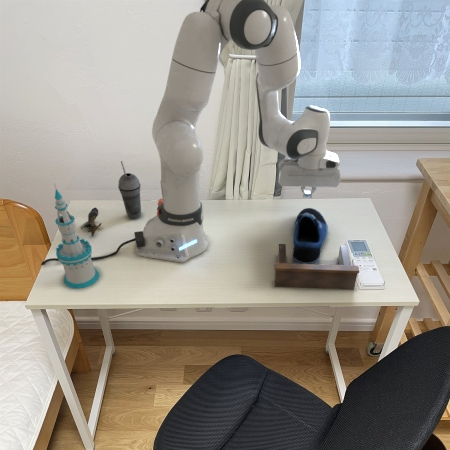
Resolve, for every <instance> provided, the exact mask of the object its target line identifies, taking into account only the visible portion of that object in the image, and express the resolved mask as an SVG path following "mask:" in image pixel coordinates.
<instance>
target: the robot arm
mask: <svg viewBox="0 0 450 450" xmlns="http://www.w3.org/2000/svg"><path fill="white" fill-rule="evenodd" d="M296 34H297V33H296V30H295V25H294V23H293V19H292V17H291V13H290V12H289V10H288V9H287V8H286V7H285V6H283V5H280V4H279V5H278V4H270V5H269V4H268V2H267V1H266V0H205V1H204V3H203V4H202V5H201V7H200V9H199V11H192V12H190V13H188V14H187V15H186V16H185V17H184V19H183V21H182V23H181V26H180V29H179V32H178V34H177V37H176V41H175V44H174V47H173V52H172V56H171V60H170V61H171V62H170V65H169V70H168V76H167V79H166V84H165V90H164V93H163V95H162V99H161V101H160V103H159V107H158V109H157V113H156V115H155V117H154V119H153V120H152V127H151V135H152V140H153V142H154V144H155V147H156V150H157V153H158V157H159V160H160V189H161V198H159V200H158V202H157V206H156V207H157V208H156V215H155V216H153V217H152V218H150V219H149V220H148V221H147V222H146V223H145V225H144V227H143V230H139V231H134V237H133V238H132V239H129V240H126V241H124V242H122V243H121V244H120V245H119V246H118V247H117V249H116V250H115V251H114V252H111V253H109V254H107V255H101V256H93V257H91V260H92V261H96V260H103V259H107V258H110V257H114V256H115V255H117V254H118V253H119V252H120V251H121V249H122V247H124V246H125V245H127V244H130V243H132V242H135V252H136V254H137V256H139V257H143V258H144V257H145V258H151V259H157V260H163V261H167V262H168V261H170V262H176V263H185V262H187V261H188V260H189V259H191V258H193V257H197V256H199V255H201V254H202V253H204V252H205V251H206V250H207V249H208V246H209V240H208V238H207V236H206V231H205V229H204V224H203V222H204V209H203V203H202V201H201V187H200V186H201V185H200V179H201V177H200V176H201V171H202V169H201V168H202V163H203V160H204V152H203V151H204V150H203V145H202V142H201V140H200V138H199V135H197V133H196V126H197V123H198V121H199V118H200V115H201V113H202V112H203V110H204V108H206V107H207V105H208V104H209V100H210V96H211V93H212V89H213V85H214V81H215V78H216V73H217V69H218V64H219V60H220V56H221V54H222V52H223V50H224V49H225V47H226V46H227V45H228V44H229V43H231V44H233V45H236V46H237V47H239V48H240V49H243V50H247V51H253V50H254V53H255V54H254V55H255V59H256V65H257V73H256V77H255V88H256V99H257V107H258V108H257V109H258V115H259V123H258V139H259V142H260V143H261V144H262V146H264V147H266V148H269V149H271V150H274V151H276V152H278V153H279V154H281V155H284V156H285V157H283V159H280V160H279V162H278V171H279V175H278V184H279V186H280V187H300V190H301V192H302V198H303V199H304V198H305V199H313V194H314V192H316V190H317V188H338V187H339V186H340V185H341V178H342V177H341V176H342V175H341V169H340V157H339V156H338V154H337V153H335V152H331V151H329V150H328V147H327V143H328V140H329V137H330V129H331V115H330V112H329V111H328V109H326V108H324V107H321V106H317V105H307V106H305V107H304V109H303V113H302V114H301V115H300V117H298V118H297V119H295V121H292V120H290V119H288V118H286V117H285V116H284V115H283V114H282V113H281V111H280V105H279V103H280V102H279V91H282V90H283V89H285V88H287V87H289V86H290V85H292V84H293V83H294V82H295V80H296V79H297V78H298V76H299V74H300V70H301V56H300V55H301V54H300V50H299V49H300V48H299V43H298V38H297V35H296ZM306 188H311V189H310V190H306ZM49 262H60V261H59V259H58V258H57V257H53V258H47V259H45V260H43V261H42V262H41V263H40V266H44V265H45V264H46V263H49Z"/></svg>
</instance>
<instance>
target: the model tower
mask: <svg viewBox="0 0 450 450" xmlns="http://www.w3.org/2000/svg"><path fill="white" fill-rule="evenodd" d="M53 186H54V188H55V193H54V199H55V206H54V208H55V210H57V211H56V212H57V213H56V214H57V217H56V219H55V220H54V222H55V224H56V225H57V228H58V231H59V233H60V234H61V242H62V243H59V244H58V245H57V247H56V248H55V252H56V254H55V255H56V258H58V259H59V261H58V262H60V263H61V264H62V266H63V270H64V273H65V274H64V277H63V283H64V285H65V286H66V287H67V288H71V289H76V290H77V289H78V290H79V289H85V288H88V287H90V286H93V284H95V283H96V282H98V280H99V278H100V273H99V271H98V270H97V268H96V267H94V263H93V260H91V258H92V254H93V253H92V252H93V248H92V246H91V243H90V242H89V241H88V240H86V239H84V238H80V237H79V235H78V232H77V229H76V228H77V226H76V222H75V220H76V217H75V216H74V215H71V214H70V212H69V210H68V209H67V208H68V204H67V203H66V202H65V200H64V199H63V196H62V195H61V193H60V192H59V190H58V189H57V185H56V183H54V184H53Z"/></svg>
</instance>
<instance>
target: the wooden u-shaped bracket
mask: <svg viewBox="0 0 450 450" xmlns="http://www.w3.org/2000/svg"><path fill="white" fill-rule="evenodd" d="M277 249H278V250H277V262H274V271H275V273H274V288H297V289H300V288H301V289H321V290H322V289H325V290H326V289H327V290H350V291H351V290H352V291H354V290H355V286H356V283H357V279H358V274H360V267H359V265H352V262H351V258H350V253H349V249H348V245H339V251H338V256H337V263H338V264H322V263H321V264H319V263H317V264H294V263H293V262H292V263H287V246H286V243H278V248H277Z"/></svg>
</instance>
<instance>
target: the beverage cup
mask: <svg viewBox="0 0 450 450" xmlns="http://www.w3.org/2000/svg"><path fill="white" fill-rule="evenodd" d="M120 163H121V167H122V170H123V174H122V175H121V176H120V177H119V179H118V187H117V188H118V190H119V193H120V195H121V198H122V202H123V205H124V209H125V212H126V214H127V218H128V219H129V220H134V221H135V220H139V219H140V218H141V217H142V204H141V185H142V184H141V182H140V180H139V178H138V177H137V175H135V174H133V173H131V172H126V169H125V165H124V162H123V161H122V160H121V161H120Z"/></svg>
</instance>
